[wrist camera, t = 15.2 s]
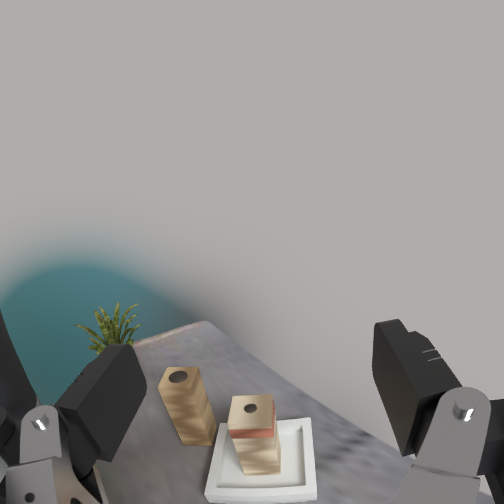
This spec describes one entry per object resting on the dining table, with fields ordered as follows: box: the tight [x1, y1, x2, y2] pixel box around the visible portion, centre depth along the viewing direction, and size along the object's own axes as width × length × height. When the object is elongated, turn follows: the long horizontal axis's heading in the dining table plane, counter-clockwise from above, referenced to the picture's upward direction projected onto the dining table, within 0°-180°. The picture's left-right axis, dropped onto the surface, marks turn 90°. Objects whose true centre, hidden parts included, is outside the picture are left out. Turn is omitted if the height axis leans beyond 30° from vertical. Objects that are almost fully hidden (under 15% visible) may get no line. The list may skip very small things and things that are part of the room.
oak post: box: [158, 367, 217, 446], centre depth 38 cm, size 4×4×12 cm
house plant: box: [75, 302, 141, 354], centre depth 54 cm, size 14×14×16 cm
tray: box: [204, 418, 317, 504], centre depth 33 cm, size 13×13×2 cm
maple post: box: [227, 394, 281, 476], centre depth 31 cm, size 5×5×11 cm
